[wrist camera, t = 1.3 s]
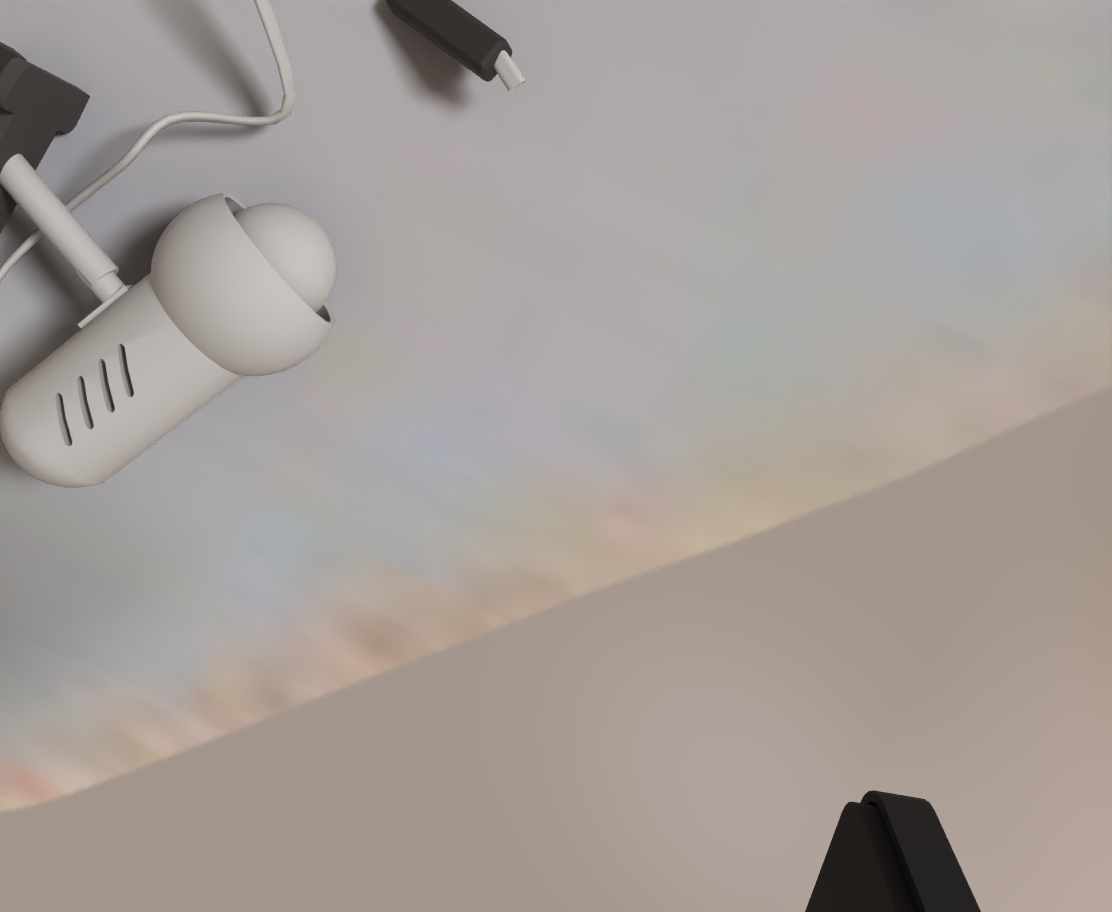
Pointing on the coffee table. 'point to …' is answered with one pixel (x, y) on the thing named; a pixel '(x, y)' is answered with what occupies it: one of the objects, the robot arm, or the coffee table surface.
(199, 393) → the clip-on lamp
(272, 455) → the coffee table surface
